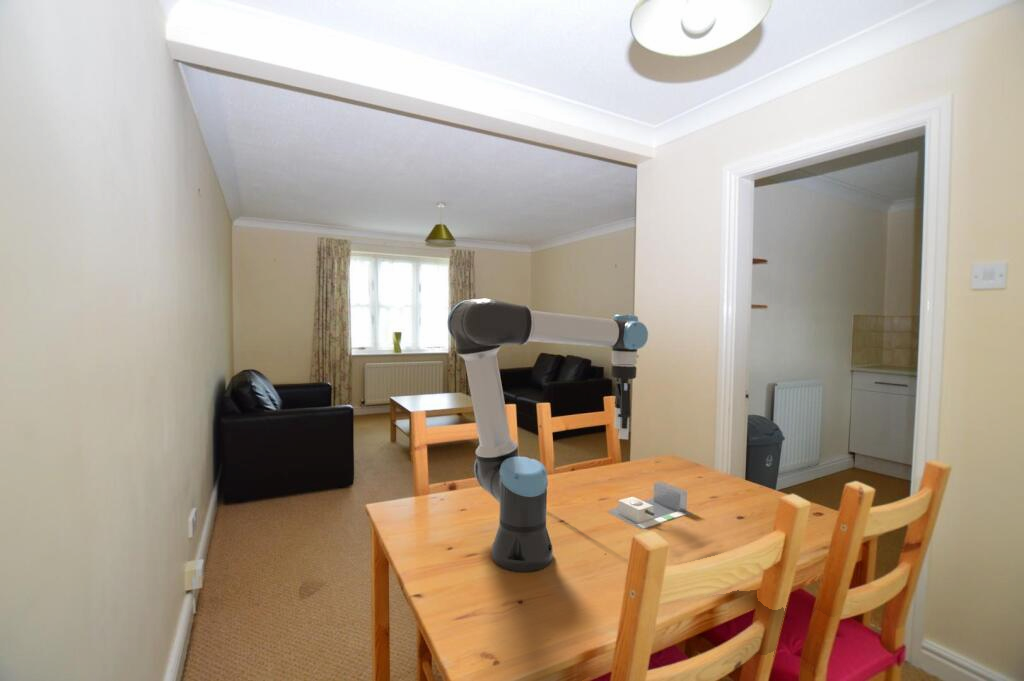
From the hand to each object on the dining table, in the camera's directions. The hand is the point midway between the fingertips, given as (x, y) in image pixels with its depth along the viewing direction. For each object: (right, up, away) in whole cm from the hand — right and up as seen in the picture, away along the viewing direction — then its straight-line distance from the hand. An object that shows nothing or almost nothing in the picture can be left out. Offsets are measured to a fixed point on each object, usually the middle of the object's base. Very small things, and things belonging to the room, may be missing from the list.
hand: (620, 433), depth 144 cm
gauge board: (+8, -24, -3) cm, 26 cm away
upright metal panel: (+16, -23, +2) cm, 28 cm away
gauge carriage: (+3, -23, -8) cm, 25 cm away
